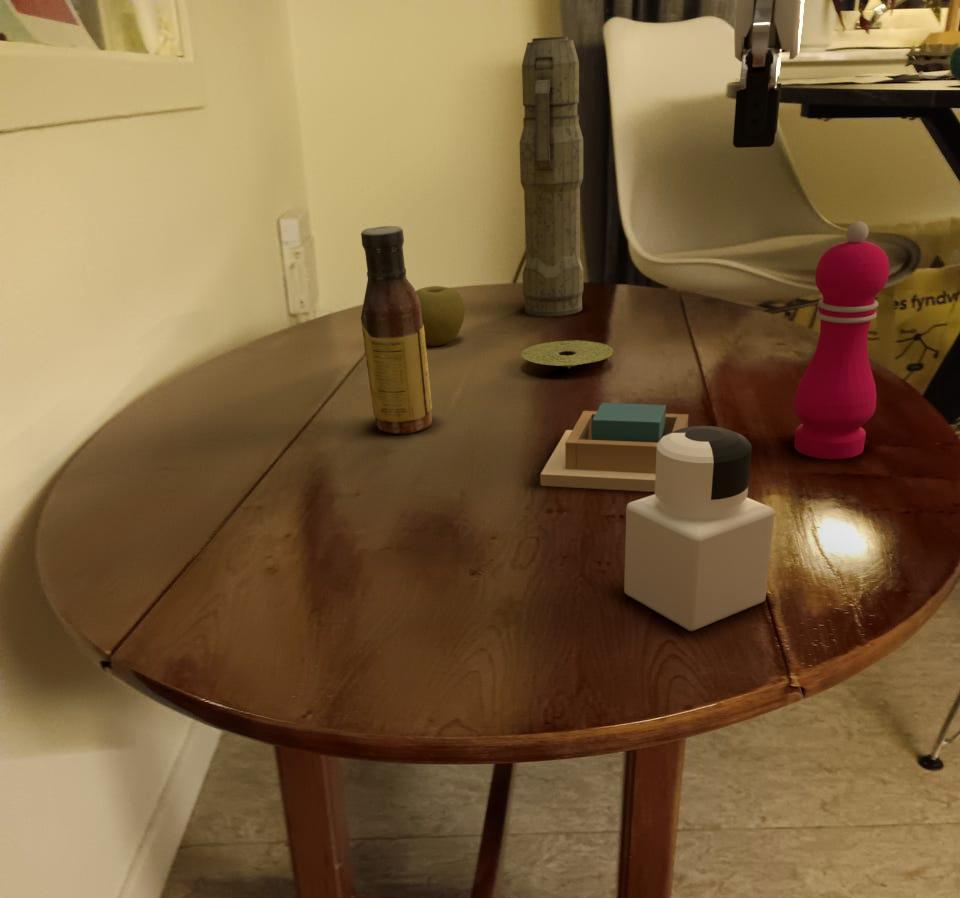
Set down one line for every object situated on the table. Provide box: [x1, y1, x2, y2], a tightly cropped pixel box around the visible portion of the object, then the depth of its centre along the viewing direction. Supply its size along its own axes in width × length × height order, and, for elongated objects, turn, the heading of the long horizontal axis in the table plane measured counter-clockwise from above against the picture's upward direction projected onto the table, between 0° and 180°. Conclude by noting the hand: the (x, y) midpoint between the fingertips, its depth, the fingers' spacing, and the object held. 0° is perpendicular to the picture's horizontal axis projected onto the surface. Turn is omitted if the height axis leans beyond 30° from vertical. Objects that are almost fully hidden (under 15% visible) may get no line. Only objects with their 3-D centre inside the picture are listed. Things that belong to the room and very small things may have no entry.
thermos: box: [518, 36, 584, 317], centre depth 139 cm, size 9×12×35 cm
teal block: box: [592, 402, 667, 443], centre depth 91 cm, size 6×5×4 cm
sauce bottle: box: [360, 225, 433, 435], centre depth 100 cm, size 6×6×20 cm
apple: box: [415, 285, 465, 347], centre depth 133 cm, size 8×8×7 cm
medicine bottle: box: [623, 425, 776, 632], centre depth 67 cm, size 7×7×12 cm
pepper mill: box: [792, 220, 890, 460], centre depth 88 cm, size 7×7×20 cm
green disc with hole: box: [520, 339, 615, 370], centre depth 121 cm, size 11×11×2 cm
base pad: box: [539, 410, 689, 493], centre depth 91 cm, size 14×12×4 cm
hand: (755, 141), depth 83 cm, fingers open, 9 cm apart
